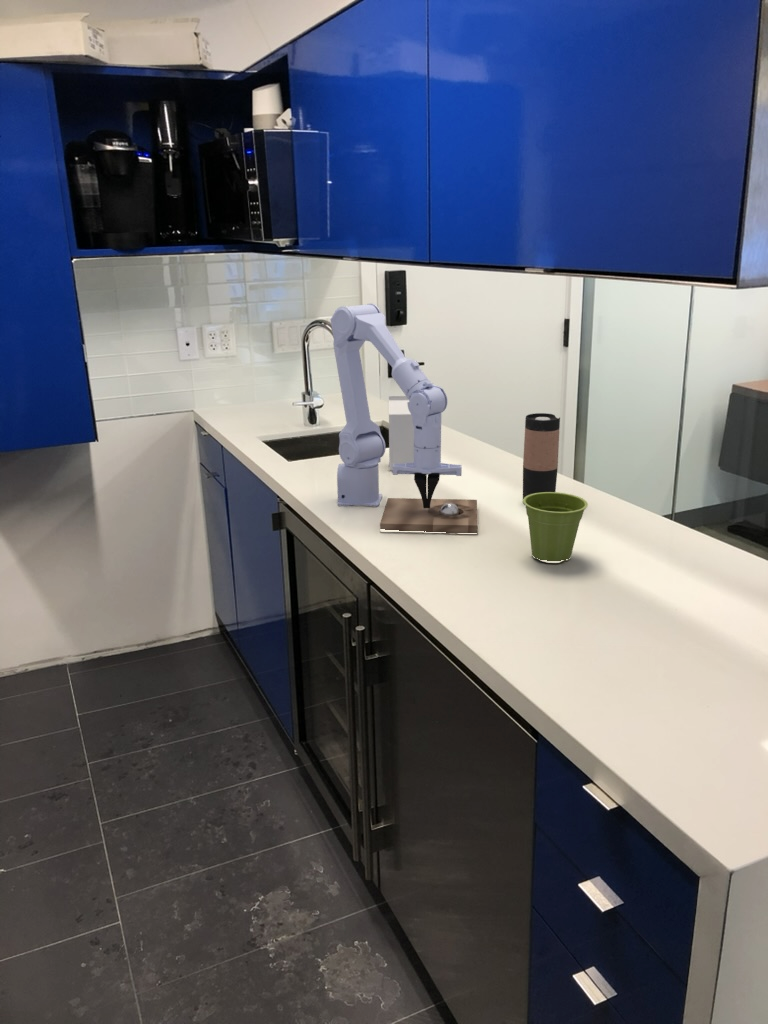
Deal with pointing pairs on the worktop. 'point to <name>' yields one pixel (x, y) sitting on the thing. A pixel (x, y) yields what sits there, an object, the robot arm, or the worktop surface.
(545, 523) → the plant pot
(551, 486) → the travel mug
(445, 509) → the ball
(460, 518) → the deck
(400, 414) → the milk carton
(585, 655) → the worktop surface
